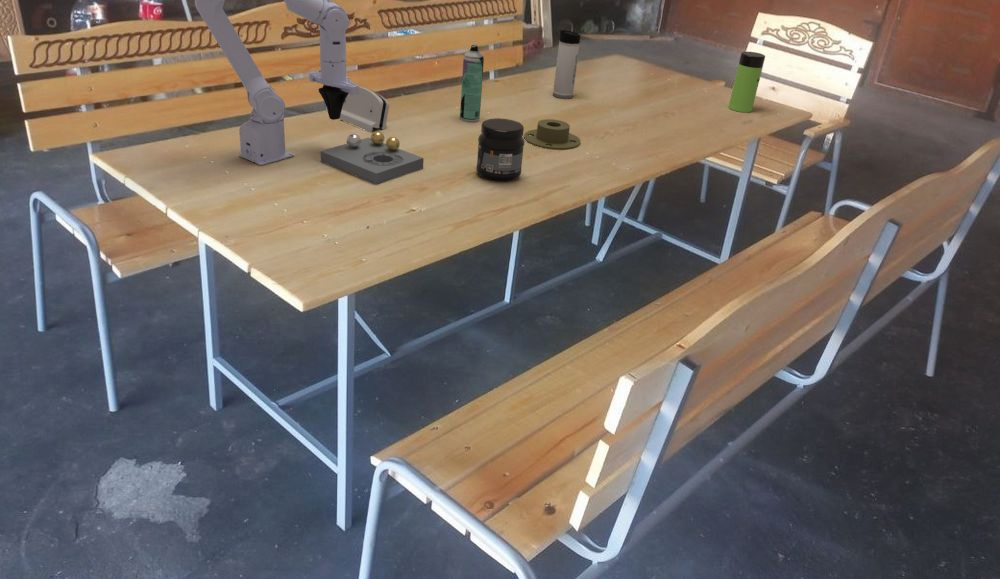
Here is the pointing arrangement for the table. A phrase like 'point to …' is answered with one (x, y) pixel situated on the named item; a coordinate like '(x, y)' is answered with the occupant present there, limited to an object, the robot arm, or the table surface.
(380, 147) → the plate
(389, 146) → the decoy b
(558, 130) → the flange
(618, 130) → the table surface
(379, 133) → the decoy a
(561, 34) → the travel mug
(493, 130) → the supplement container
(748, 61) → the tumbler
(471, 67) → the spray can
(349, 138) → the ball
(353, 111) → the grey rounded bracket
